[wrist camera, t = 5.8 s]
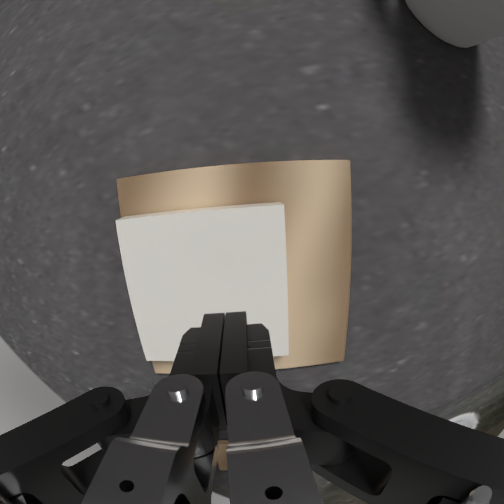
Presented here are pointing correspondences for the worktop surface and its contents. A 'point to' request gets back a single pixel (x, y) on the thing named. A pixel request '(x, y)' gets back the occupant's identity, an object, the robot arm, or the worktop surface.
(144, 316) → the tile
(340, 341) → the board
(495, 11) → the cup
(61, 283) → the worktop surface
